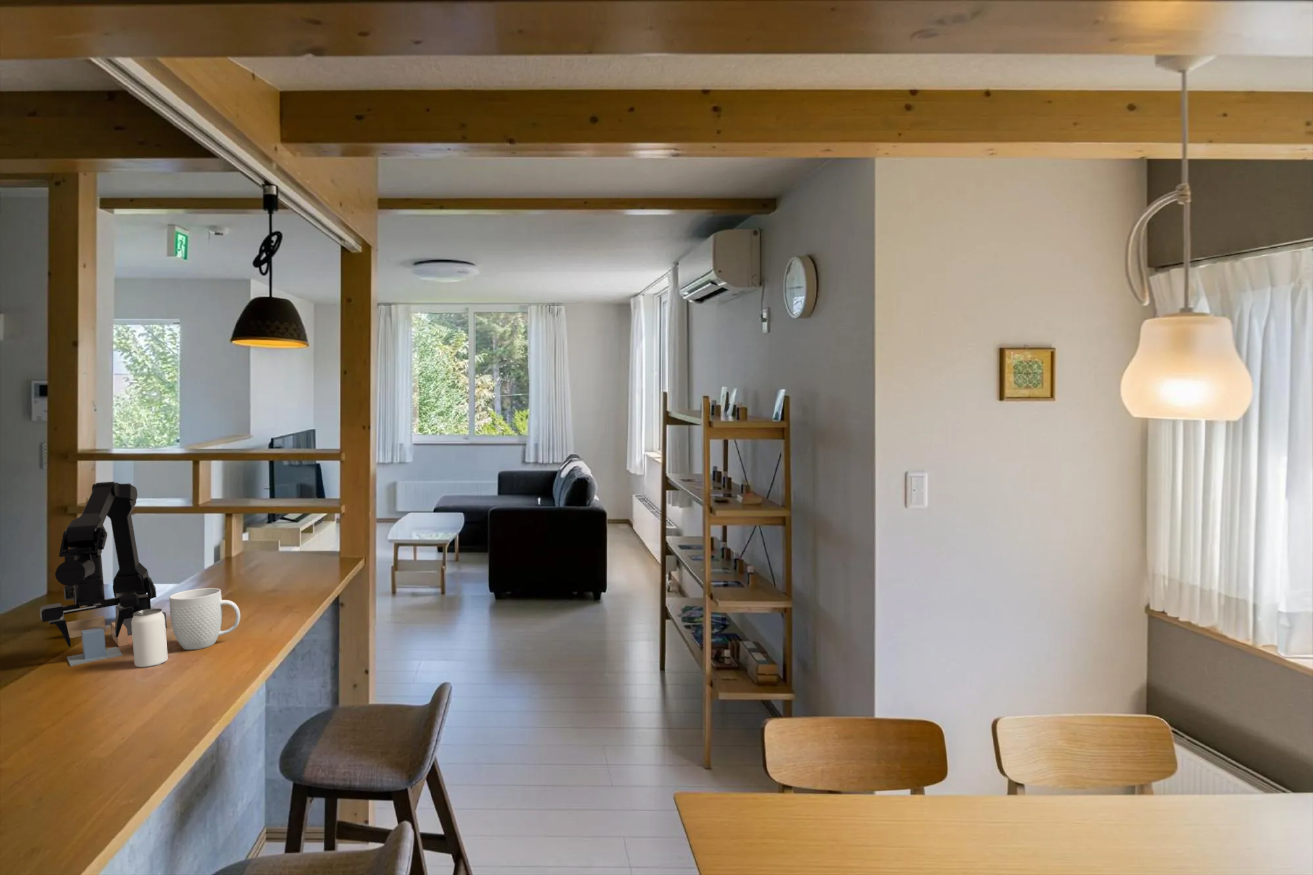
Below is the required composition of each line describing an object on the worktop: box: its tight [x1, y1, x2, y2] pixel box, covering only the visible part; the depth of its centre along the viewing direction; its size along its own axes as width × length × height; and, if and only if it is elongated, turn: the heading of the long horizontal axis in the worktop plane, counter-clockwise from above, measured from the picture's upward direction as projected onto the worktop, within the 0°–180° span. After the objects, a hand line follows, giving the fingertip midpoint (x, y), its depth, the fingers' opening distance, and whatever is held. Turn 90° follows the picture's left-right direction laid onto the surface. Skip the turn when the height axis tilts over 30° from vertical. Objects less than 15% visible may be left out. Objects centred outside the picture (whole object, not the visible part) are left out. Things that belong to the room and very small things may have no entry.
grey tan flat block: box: [110, 611, 168, 647], centre depth 204 cm, size 12×12×4 cm
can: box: [131, 608, 169, 669], centre depth 182 cm, size 6×6×12 cm
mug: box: [168, 587, 241, 651], centre depth 194 cm, size 15×11×13 cm
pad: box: [66, 646, 123, 667], centre depth 188 cm, size 10×8×1 cm
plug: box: [81, 627, 107, 659], centre depth 188 cm, size 4×4×6 cm
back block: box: [66, 615, 107, 639], centre depth 208 cm, size 8×2×4 cm, turn 131°
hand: (93, 641), depth 188 cm, fingers open, 9 cm apart
